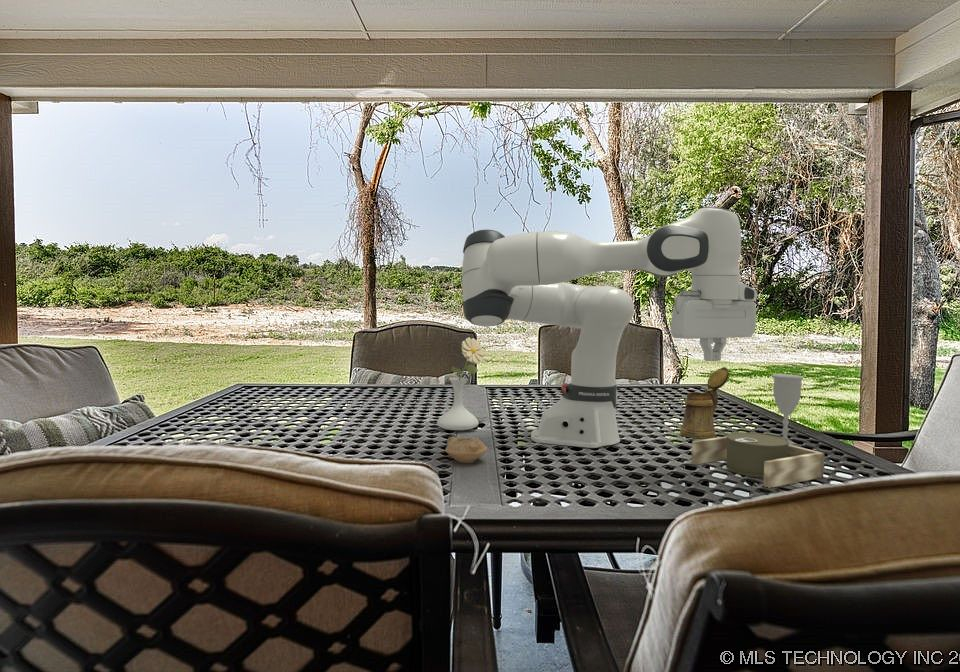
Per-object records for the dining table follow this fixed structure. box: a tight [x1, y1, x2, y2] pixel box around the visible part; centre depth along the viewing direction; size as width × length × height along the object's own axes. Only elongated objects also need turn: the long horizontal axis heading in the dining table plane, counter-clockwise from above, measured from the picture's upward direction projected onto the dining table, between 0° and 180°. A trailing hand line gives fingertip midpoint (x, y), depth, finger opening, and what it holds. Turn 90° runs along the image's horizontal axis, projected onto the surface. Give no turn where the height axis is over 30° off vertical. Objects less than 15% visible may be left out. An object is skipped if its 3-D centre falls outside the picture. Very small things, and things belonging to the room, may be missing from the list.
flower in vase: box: [436, 337, 486, 431], centre depth 163 cm, size 13×11×25 cm
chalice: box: [772, 373, 804, 446], centre depth 145 cm, size 7×7×18 cm
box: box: [690, 436, 825, 489], centre depth 128 cm, size 17×19×5 cm
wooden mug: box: [679, 366, 730, 440], centre depth 161 cm, size 9×14×18 cm, turn 114°
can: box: [725, 431, 789, 479], centre depth 128 cm, size 12×12×7 cm
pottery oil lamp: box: [445, 436, 488, 464], centre depth 133 cm, size 9×12×7 cm
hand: (712, 360), depth 120 cm, fingers closed
